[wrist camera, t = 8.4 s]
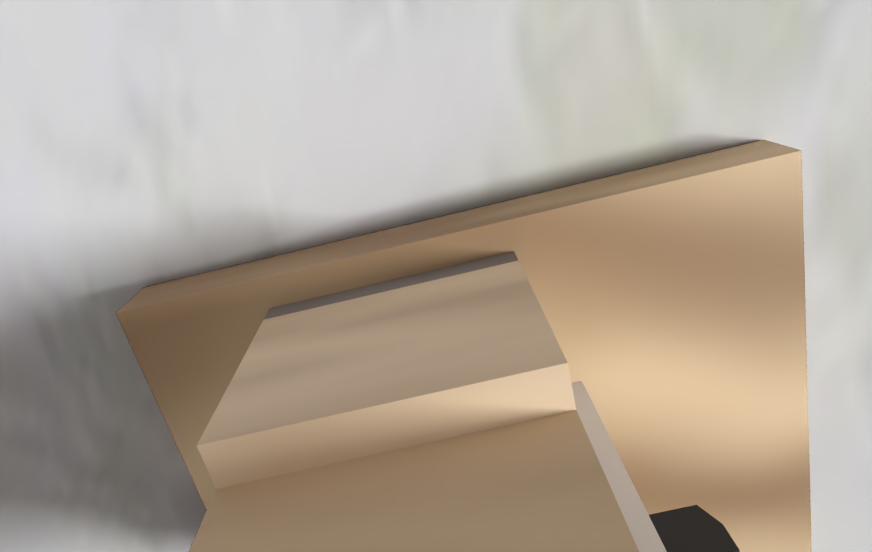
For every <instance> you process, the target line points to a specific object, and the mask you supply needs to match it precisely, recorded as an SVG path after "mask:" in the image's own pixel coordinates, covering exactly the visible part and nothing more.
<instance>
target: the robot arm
mask: <svg viewBox="0 0 872 552" xmlns="http://www.w3.org/2000/svg"><path fill="white" fill-rule="evenodd" d="M572 389H573V394H574V400H575V405H576V410H577V413H578V415H579V417H580V419H581V422H582V424H583V426H584V428H585V431H586V433H587V435H588V437H589V440H590V442H591V444H592V446H593V449H594V451H595V453H596V455H597V458H598V460H599V462H600V464H601V467H602V469H603V471H604V473H605V476H606V478H607V480H608V483H609V485H610V487H611V489H612V492H613V494H614V496H615V498H616V501H617V503H618V505H619V507H620V510H621V512H622V514H623V516H624V519H625V521H626V523H627V525H628V528H629V530H630V532H631V534H632V537H633V539H634V541H635V543H636V546H637V548H638V550H639V552H740V550H739V548H738V547H737V545H736V544H735V542H734V541H733V539H732V538H731V536H730V534H729V533H728V531H727V530H726V528H725V527H724V525H723V524H722V523H721V522H719V521H718V520H717V519H715V518H714V517H713V516H711V515H710V514H709V513H707V512H706V511H704V510H703V509H702V508H700V507H699V506H698V505H693V506H688V507H683V508H678V509H674V510H669V511H664V512H659V513H655V514H650V515H648V513H647V511H646V509H645V507H644V505H643V503H642V501H641V499H640V497H639V495H638V493H637V491H636V489H635V487H634V485H633V483H632V481H631V479H630V477H629V475H628V473H627V471H626V469H625V467H624V465H623V463H622V461H621V459H620V457H619V455H618V453H617V451H616V449H615V447H614V445H613V443H612V441H611V439H610V437H609V435H608V433H607V431H606V429H605V427H604V424H603V422H602V420H601V418H600V416H599V414H598V412H597V410H596V408H595V406H594V404H593V402H592V400H591V398H590V396H589V394H588V392H587V390H586V388H585V386H584V384H583V382H582V381H577V382H573V383H572Z"/></svg>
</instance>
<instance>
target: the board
mask: <svg viewBox="0 0 872 552" xmlns="http://www.w3.org/2000/svg"><path fill="white" fill-rule="evenodd" d="M513 251H514V252H515V254H516V256H517V258H518V260H519V263H520V265H521V267H522V269H523V271H524V273H525V275H526V277H527V279H528V281H529V283H530V285H531V287H532V290H533V292H534V294H535V296H536V298H537V300H538V302H539V304H540V306H541V308H542V310H543V312H544V314H545V317H546V319H547V321H548V323H549V325H550V327H551V329H552V331H553V333H554V335H555V337H556V339H557V341H558V344H559V346H560V348H561V350H562V352H563V354H564V356H565V358H566V360H567V362H568V367H569V372H570V378H571V383H573V382H577V381H582V382H583V384H584V386H585V388H586V390H587V392H588V394H589V396H590V398H591V400H592V402H593V404H594V406H595V408H596V410H597V412H598V414H599V416H600V418H601V420H602V422H603V424H604V427H605V429H606V431H607V433H608V435H609V437H610V439H611V441H612V443H613V445H614V447H615V449H616V451H617V453H618V455H619V457H620V459H621V461H622V463H623V465H624V467H625V469H626V471H627V473H628V475H629V477H630V479H631V481H632V483H633V485H634V487H635V489H636V491H637V493H638V495H639V497H640V499H641V501H642V503H643V505H644V507H645V509H646V511H647V513H648V515H650V514H655V513H659V512H664V511H669V510H674V509H678V508H683V507H688V506H693V505H698V506H699V507H700V508H702V509H703V510H704V511H706V512H707V513H709V514H710V515H711V516H713V517H714V518H715V519H717V520H718V521H719V522H721V523H722V524H723V525H724V527H725V528H726V530H727V531H728V533H729V534H730V536H731V538H732V539H733V541H734V542H735V544H736V545H737V547H738V548H739V550H740V552H812V548H811V508H810V468H809V429H808V389H807V350H806V310H805V270H804V231H803V191H802V152H801V150H798V149H794V148H791V147H787V146H784V145H780V144H777V143H773V142H770V141H766V140H760V141H756V142H752V143H748V144H743V145H739V146H735V147H731V148H727V149H722V150H718V151H714V152H710V153H706V154H701V155H697V156H693V157H689V158H685V159H680V160H676V161H672V162H668V163H664V164H660V165H655V166H651V167H647V168H643V169H639V170H634V171H630V172H626V173H622V174H618V175H613V176H609V177H605V178H601V179H597V180H592V181H588V182H584V183H580V184H576V185H571V186H567V187H563V188H559V189H555V190H550V191H546V192H542V193H538V194H534V195H529V196H525V197H521V198H517V199H513V200H508V201H504V202H500V203H496V204H492V205H488V206H483V207H479V208H475V209H471V210H467V211H462V212H458V213H454V214H450V215H446V216H441V217H437V218H433V219H429V220H425V221H420V222H416V223H412V224H408V225H404V226H399V227H395V228H391V229H387V230H383V231H378V232H374V233H370V234H366V235H362V236H357V237H353V238H349V239H345V240H341V241H336V242H332V243H328V244H324V245H320V246H315V247H311V248H307V249H303V250H299V251H295V252H290V253H286V254H282V255H278V256H274V257H269V258H265V259H261V260H257V261H253V262H248V263H244V264H240V265H236V266H232V267H227V268H223V269H219V270H215V271H211V272H206V273H202V274H198V275H194V276H190V277H185V278H181V279H177V280H173V281H169V282H164V283H160V284H156V285H152V286H148V287H143V288H142V289H141V290H140V291H139V292H138V293H137V294H136V295H135V296H133V297H132V298H131V299H130V300H129V301H128V302H127V303H126V304H125V305H124V306H123V307H122V308H121V309H119V310H118V311H117V312H116V315H117V317H118V319H119V321H120V324H121V326H122V328H123V330H124V332H125V334H126V337H127V339H128V341H129V343H130V345H131V347H132V350H133V352H134V354H135V356H136V358H137V360H138V363H139V365H140V367H141V369H142V371H143V373H144V376H145V378H146V380H147V382H148V384H149V386H150V389H151V391H152V393H153V395H154V397H155V399H156V402H157V404H158V406H159V408H160V410H161V412H162V415H163V417H164V419H165V421H166V423H167V425H168V428H169V430H170V432H171V434H172V436H173V438H174V441H175V443H176V445H177V447H178V449H179V451H180V454H181V456H182V458H183V460H184V462H185V464H186V467H187V469H188V471H189V473H190V475H191V477H192V480H193V482H194V484H195V486H196V488H197V490H198V493H199V495H200V497H201V499H202V501H203V503H204V506H205V508H206V510H207V509H208V506H209V504H210V502H211V499H212V497H213V495H214V492H215V490H216V488H215V486H214V484H213V481H212V479H211V477H210V475H209V472H208V470H207V468H206V466H205V463H204V461H203V459H202V457H201V455H200V452H199V450H198V448H197V444H198V442H199V440H200V439H201V437H202V435H203V433H204V431H205V429H206V427H207V425H208V423H209V422H210V420H211V418H212V416H213V414H214V412H215V410H216V408H217V406H218V405H219V403H220V401H221V399H222V397H223V395H224V393H225V391H226V389H227V388H228V386H229V384H230V382H231V380H232V378H233V376H234V374H235V373H236V371H237V369H238V367H239V365H240V363H241V361H242V359H243V357H244V356H245V354H246V352H247V350H248V348H249V346H250V344H251V342H252V340H253V339H254V337H255V335H256V333H257V331H258V329H259V327H260V325H261V323H262V322H263V320H264V318H265V316H266V314H267V312H268V310H269V308H273V307H278V306H282V305H286V304H291V303H295V302H299V301H303V300H308V299H312V298H316V297H321V296H325V295H329V294H333V293H338V292H342V291H346V290H351V289H355V288H359V287H363V286H368V285H372V284H376V283H381V282H385V281H389V280H393V279H398V278H402V277H406V276H411V275H415V274H419V273H423V272H428V271H432V270H436V269H441V268H445V267H449V266H453V265H458V264H462V263H466V262H471V261H475V260H479V259H483V258H488V257H492V256H496V255H501V254H505V253H509V252H513Z"/></svg>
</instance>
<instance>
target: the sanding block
mask: <svg viewBox="0 0 872 552" xmlns="http://www.w3.org/2000/svg"><path fill="white" fill-rule="evenodd" d="M197 448H198V450H199V452H200V455H201V457H202V459H203V461H204V463H205V466H206V468H207V470H208V472H209V475H210V477H211V479H212V481H213V484H214V486H215V488H216V490H215V492H214V495H213V497H212V499H211V502H210V504H209V506H208V509H207V511H206V513H205V515H204V518H203V520H202V522H201V525H200V527H199V529H198V531H197V534H196V536H195V538H194V541H193V543H192V545H191V547H190V550H189V552H639V550H638V548H637V546H636V543H635V541H634V539H633V537H632V534H631V532H630V530H629V528H628V525H627V523H626V521H625V519H624V516H623V514H622V512H621V510H620V507H619V505H618V503H617V501H616V498H615V496H614V494H613V492H612V489H611V487H610V485H609V483H608V480H607V478H606V476H605V473H604V471H603V469H602V467H601V464H600V462H599V460H598V458H597V455H596V453H595V451H594V449H593V446H592V444H591V442H590V440H589V437H588V435H587V433H586V431H585V428H584V426H583V424H582V422H581V419H580V417H579V415H578V413H577V410H576V405H575V400H574V394H573V389H572V383H571V378H570V372H569V367H568V362H567V360H566V358H565V356H564V354H563V352H562V350H561V348H560V346H559V344H558V341H557V339H556V337H555V335H554V333H553V331H552V329H551V327H550V325H549V323H548V321H547V319H546V317H545V314H544V312H543V310H542V308H541V306H540V304H539V302H538V300H537V298H536V296H535V294H534V292H533V290H532V287H531V285H530V283H529V281H528V279H527V277H526V275H525V273H524V271H523V269H522V267H521V265H520V263H519V260H518V258H517V256H516V254H515V252H514V251H513V252H509V253H505V254H501V255H496V256H492V257H488V258H483V259H479V260H475V261H471V262H466V263H462V264H458V265H453V266H449V267H445V268H441V269H436V270H432V271H428V272H423V273H419V274H415V275H411V276H406V277H402V278H398V279H393V280H389V281H385V282H381V283H376V284H372V285H368V286H363V287H359V288H355V289H351V290H346V291H342V292H338V293H333V294H329V295H325V296H321V297H316V298H312V299H308V300H303V301H299V302H295V303H291V304H286V305H282V306H278V307H273V308H269V310H268V312H267V314H266V316H265V318H264V320H263V322H262V323H261V325H260V327H259V329H258V331H257V333H256V335H255V337H254V339H253V340H252V342H251V344H250V346H249V348H248V350H247V352H246V354H245V356H244V357H243V359H242V361H241V363H240V365H239V367H238V369H237V371H236V373H235V374H234V376H233V378H232V380H231V382H230V384H229V386H228V388H227V389H226V391H225V393H224V395H223V397H222V399H221V401H220V403H219V405H218V406H217V408H216V410H215V412H214V414H213V416H212V418H211V420H210V422H209V423H208V425H207V427H206V429H205V431H204V433H203V435H202V437H201V439H200V440H199V442H198V444H197Z"/></svg>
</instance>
